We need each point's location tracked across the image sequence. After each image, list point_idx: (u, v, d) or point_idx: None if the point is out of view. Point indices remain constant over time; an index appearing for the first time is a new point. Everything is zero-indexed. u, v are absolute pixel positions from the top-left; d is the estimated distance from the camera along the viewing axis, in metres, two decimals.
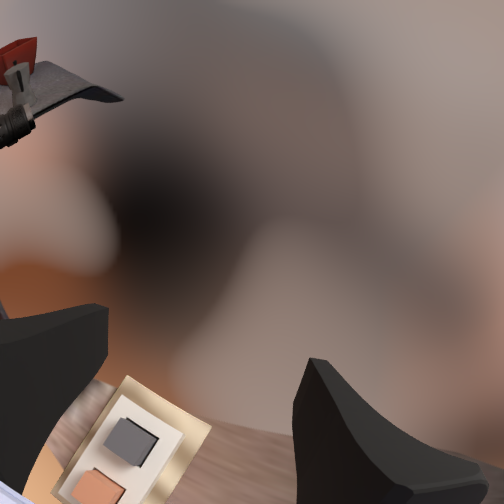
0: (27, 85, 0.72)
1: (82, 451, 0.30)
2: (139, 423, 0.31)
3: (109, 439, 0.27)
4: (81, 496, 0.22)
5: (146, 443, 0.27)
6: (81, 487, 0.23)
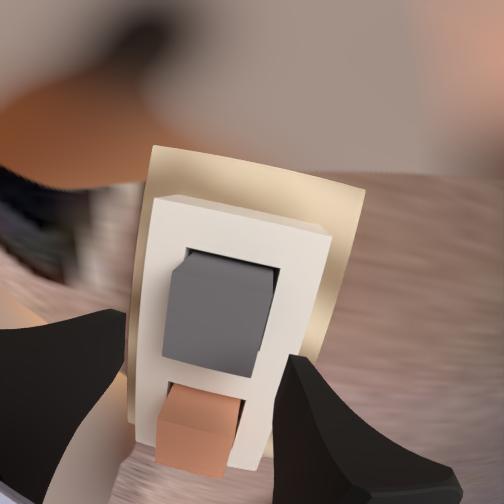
0: None
1: None
2: (221, 250, 0.15)
3: (170, 338, 0.13)
4: (174, 460, 0.15)
5: (264, 314, 0.12)
6: (165, 447, 0.15)
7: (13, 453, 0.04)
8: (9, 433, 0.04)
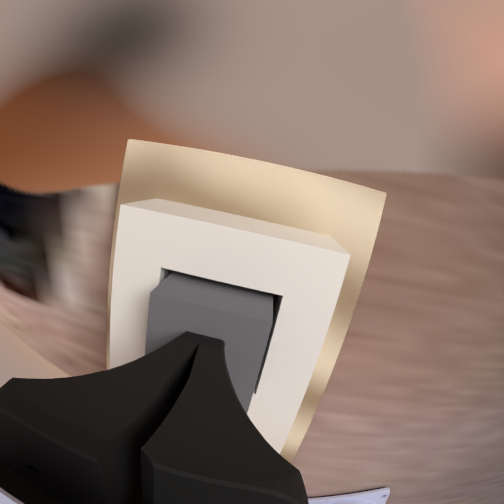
0: None
1: None
2: (205, 273, 0.12)
3: None
4: None
5: (262, 345, 0.10)
6: None
7: None
8: (128, 493, 0.04)
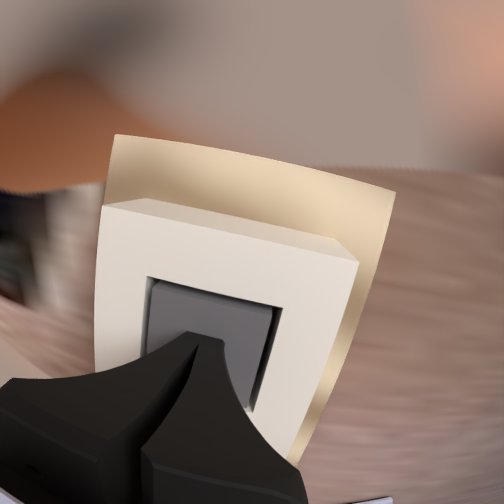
0: None
1: None
2: (196, 282, 0.10)
3: None
4: None
5: (262, 338, 0.10)
6: None
7: None
8: (128, 493, 0.04)
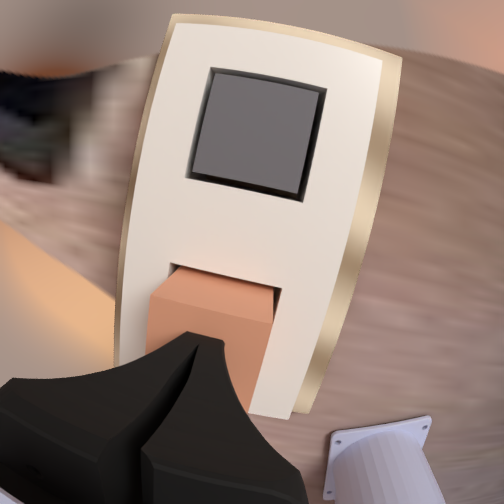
0: None
1: None
2: (254, 68, 0.11)
3: (205, 147, 0.11)
4: None
5: (311, 112, 0.11)
6: None
7: None
8: (128, 493, 0.04)
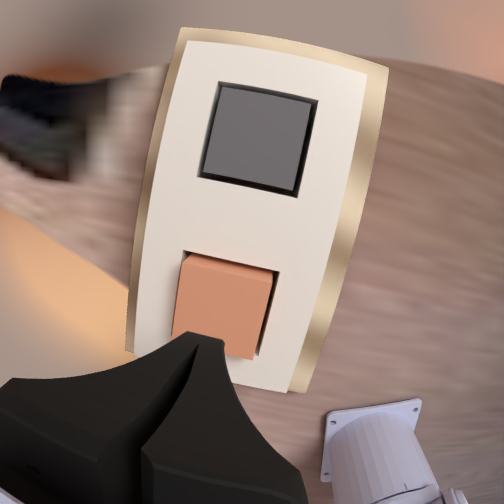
0: None
1: None
2: (256, 82, 0.13)
3: (214, 150, 0.14)
4: (196, 332, 0.14)
5: (304, 121, 0.13)
6: (187, 311, 0.14)
7: None
8: (128, 493, 0.04)
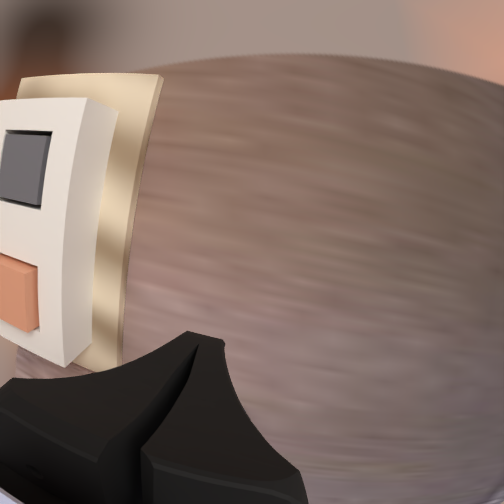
0: None
1: None
2: (22, 126, 0.14)
3: (1, 180, 0.15)
4: None
5: (42, 150, 0.15)
6: None
7: None
8: (128, 493, 0.04)
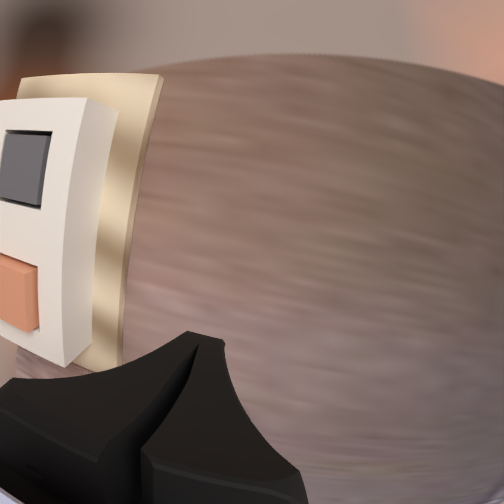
0: None
1: None
2: (22, 126, 0.14)
3: (1, 180, 0.15)
4: None
5: (42, 150, 0.15)
6: None
7: None
8: (128, 493, 0.04)
